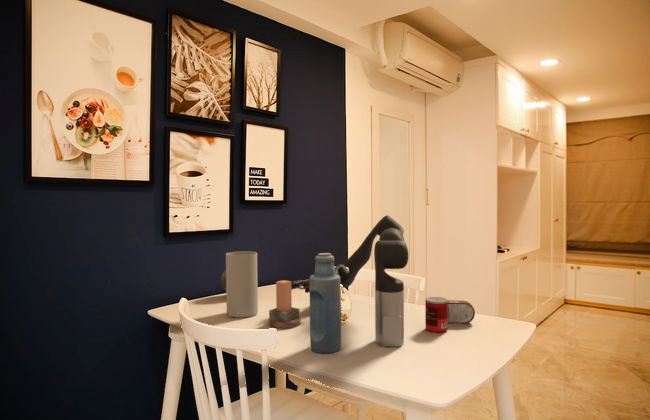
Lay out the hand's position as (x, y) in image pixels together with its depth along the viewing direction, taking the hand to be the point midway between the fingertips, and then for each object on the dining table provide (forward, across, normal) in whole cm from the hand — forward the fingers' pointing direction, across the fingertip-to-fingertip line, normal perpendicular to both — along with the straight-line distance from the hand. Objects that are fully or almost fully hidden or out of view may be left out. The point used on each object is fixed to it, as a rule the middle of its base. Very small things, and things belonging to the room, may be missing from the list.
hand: (297, 288), depth 165 cm
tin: (-29, +52, +12) cm, 61 cm away
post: (+8, 0, +10) cm, 13 cm away
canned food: (-18, +50, +12) cm, 54 cm away
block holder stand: (+8, 0, +12) cm, 14 cm away
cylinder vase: (+7, -23, +12) cm, 27 cm away
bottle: (+20, +28, +12) cm, 37 cm away
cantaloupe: (-13, -48, +12) cm, 51 cm away
